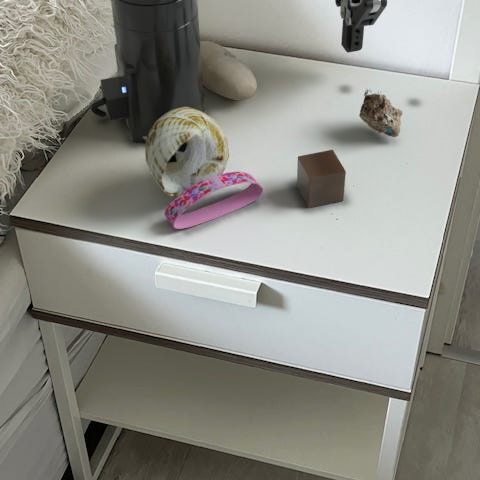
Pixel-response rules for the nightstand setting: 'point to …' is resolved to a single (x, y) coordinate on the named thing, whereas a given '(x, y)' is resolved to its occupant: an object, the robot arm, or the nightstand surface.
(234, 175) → the headband
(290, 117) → the nightstand surface
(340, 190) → the brown cube block
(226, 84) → the stone
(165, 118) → the seashell
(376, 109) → the rock
